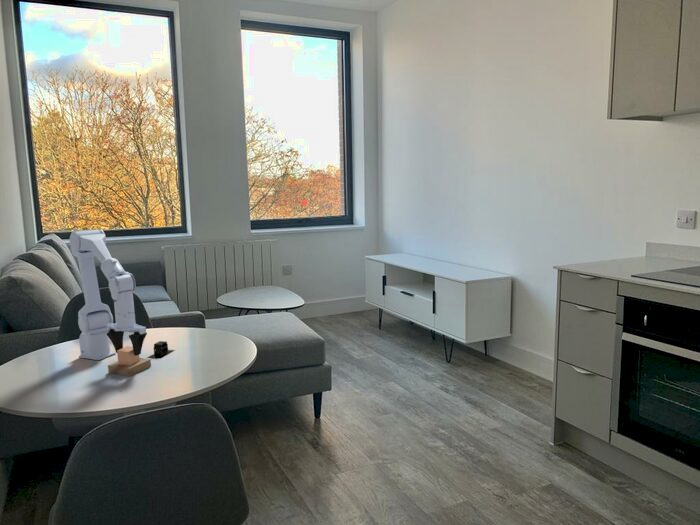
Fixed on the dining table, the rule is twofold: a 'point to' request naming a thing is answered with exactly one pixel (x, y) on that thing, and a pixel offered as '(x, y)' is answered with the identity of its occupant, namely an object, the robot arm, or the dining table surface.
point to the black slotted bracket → (160, 350)
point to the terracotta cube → (127, 356)
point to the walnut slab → (129, 367)
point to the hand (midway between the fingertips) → (128, 353)
